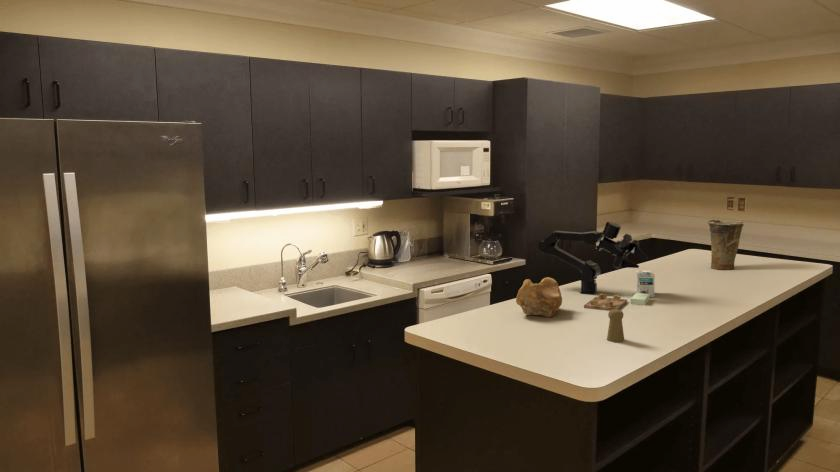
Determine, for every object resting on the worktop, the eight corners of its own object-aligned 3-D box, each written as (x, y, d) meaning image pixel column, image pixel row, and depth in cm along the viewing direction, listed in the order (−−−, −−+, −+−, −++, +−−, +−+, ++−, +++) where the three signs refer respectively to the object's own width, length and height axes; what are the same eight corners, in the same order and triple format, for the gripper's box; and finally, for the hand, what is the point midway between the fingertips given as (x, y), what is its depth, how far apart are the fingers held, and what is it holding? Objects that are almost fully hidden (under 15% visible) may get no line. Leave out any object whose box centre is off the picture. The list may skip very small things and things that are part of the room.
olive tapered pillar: (604, 337, 228) (604, 308, 226) (620, 337, 228) (620, 307, 227) (610, 342, 222) (610, 312, 221) (627, 341, 222) (627, 311, 221)
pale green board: (630, 305, 276) (630, 298, 276) (635, 299, 287) (635, 292, 286) (644, 306, 273) (644, 299, 273) (649, 300, 284) (649, 294, 283)
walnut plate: (584, 307, 272) (584, 300, 272) (595, 299, 287) (595, 292, 287) (616, 311, 265) (616, 303, 265) (627, 302, 280) (627, 295, 280)
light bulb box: (654, 297, 287) (655, 274, 286) (639, 297, 289) (639, 274, 287) (650, 292, 298) (651, 270, 296) (636, 292, 299) (636, 270, 298)
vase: (706, 264, 363) (708, 218, 359) (741, 266, 355) (743, 219, 351) (705, 270, 347) (707, 222, 343) (742, 272, 339) (744, 223, 335)
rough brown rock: (541, 325, 251) (545, 288, 248) (509, 314, 263) (512, 279, 260) (575, 315, 266) (578, 281, 264) (543, 306, 278) (546, 273, 276)
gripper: (606, 242, 281) (638, 257, 273) (625, 224, 292) (657, 239, 285) (601, 261, 288) (632, 277, 280) (619, 243, 299) (650, 258, 291)
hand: (643, 262), depth 284 cm, fingers open, 9 cm apart
